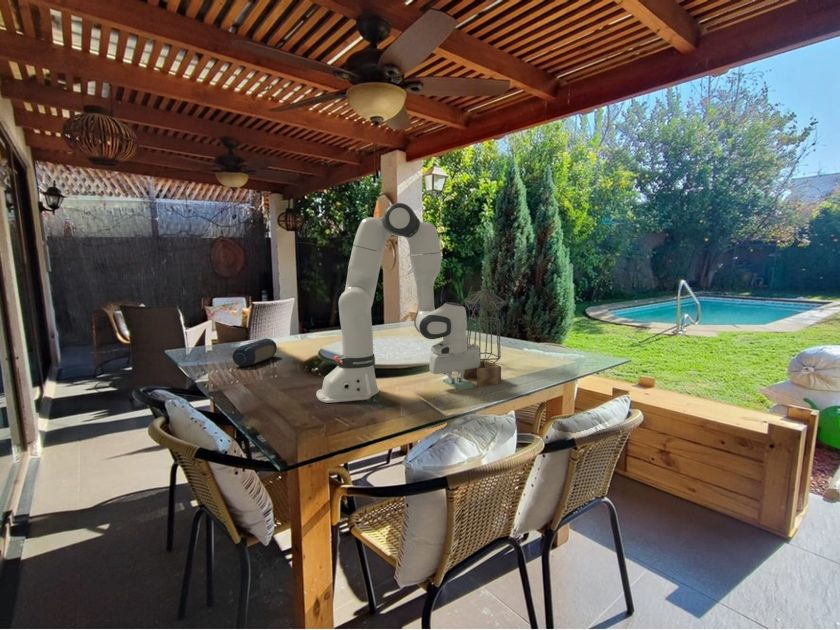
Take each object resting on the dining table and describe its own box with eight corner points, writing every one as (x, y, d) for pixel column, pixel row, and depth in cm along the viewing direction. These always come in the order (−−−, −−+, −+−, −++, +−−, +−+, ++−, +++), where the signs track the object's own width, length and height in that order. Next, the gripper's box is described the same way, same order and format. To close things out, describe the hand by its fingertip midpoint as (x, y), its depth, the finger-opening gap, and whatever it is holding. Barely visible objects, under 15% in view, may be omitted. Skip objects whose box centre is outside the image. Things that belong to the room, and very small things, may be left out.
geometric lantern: (460, 363, 199) (461, 288, 195) (491, 361, 203) (492, 288, 199) (474, 371, 184) (476, 290, 180) (507, 369, 188) (509, 289, 184)
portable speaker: (249, 369, 194) (248, 347, 192) (230, 368, 196) (229, 346, 195) (280, 356, 218) (279, 337, 216) (263, 355, 220) (262, 336, 219)
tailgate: (474, 387, 158) (458, 390, 155) (458, 379, 168) (443, 382, 165) (474, 384, 158) (458, 387, 155) (458, 376, 168) (443, 379, 165)
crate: (478, 390, 158) (478, 369, 157) (461, 382, 169) (462, 362, 168) (500, 387, 163) (501, 366, 161) (483, 379, 173) (483, 359, 172)
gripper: (474, 341, 166) (474, 376, 168) (427, 347, 158) (427, 383, 159) (483, 344, 160) (483, 380, 162) (434, 350, 152) (435, 388, 154)
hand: (455, 382), depth 161 cm, fingers closed
